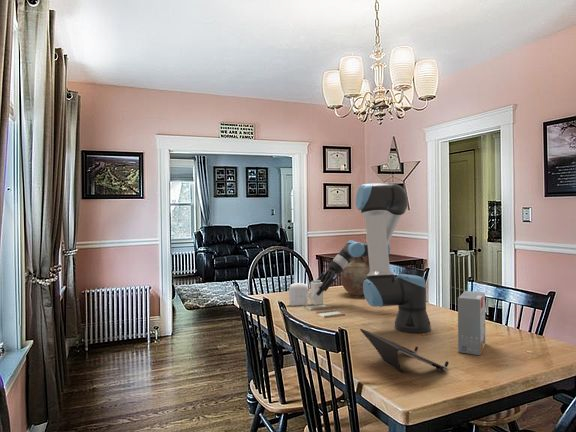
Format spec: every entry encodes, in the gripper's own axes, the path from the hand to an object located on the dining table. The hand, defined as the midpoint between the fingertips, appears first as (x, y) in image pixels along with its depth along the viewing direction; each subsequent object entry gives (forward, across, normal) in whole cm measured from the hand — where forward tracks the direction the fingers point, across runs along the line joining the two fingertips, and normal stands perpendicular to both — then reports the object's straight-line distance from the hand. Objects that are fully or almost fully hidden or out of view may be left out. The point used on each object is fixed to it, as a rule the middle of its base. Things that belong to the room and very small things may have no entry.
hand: (310, 298), depth 213 cm
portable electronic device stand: (+5, -82, -4) cm, 82 cm away
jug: (-25, +22, -34) cm, 47 cm away
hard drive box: (-18, -78, -27) cm, 85 cm away
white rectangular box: (-1, 0, -5) cm, 5 cm away
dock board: (+2, -8, -7) cm, 11 cm away
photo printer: (+6, +14, -4) cm, 15 cm away
